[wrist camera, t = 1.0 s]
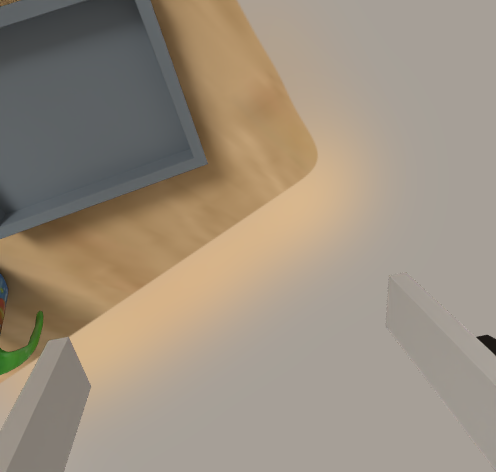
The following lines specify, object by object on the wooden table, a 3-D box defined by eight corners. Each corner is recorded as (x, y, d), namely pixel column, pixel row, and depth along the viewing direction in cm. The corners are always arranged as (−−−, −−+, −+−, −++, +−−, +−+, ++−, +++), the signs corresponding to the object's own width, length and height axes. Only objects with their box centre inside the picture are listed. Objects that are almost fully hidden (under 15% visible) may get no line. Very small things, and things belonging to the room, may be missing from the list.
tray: (-139, 53, 24) (-169, 59, 22) (136, -33, 26) (137, -36, 23) (4, 223, 33) (-6, 241, 31) (202, 152, 35) (208, 163, 32)
